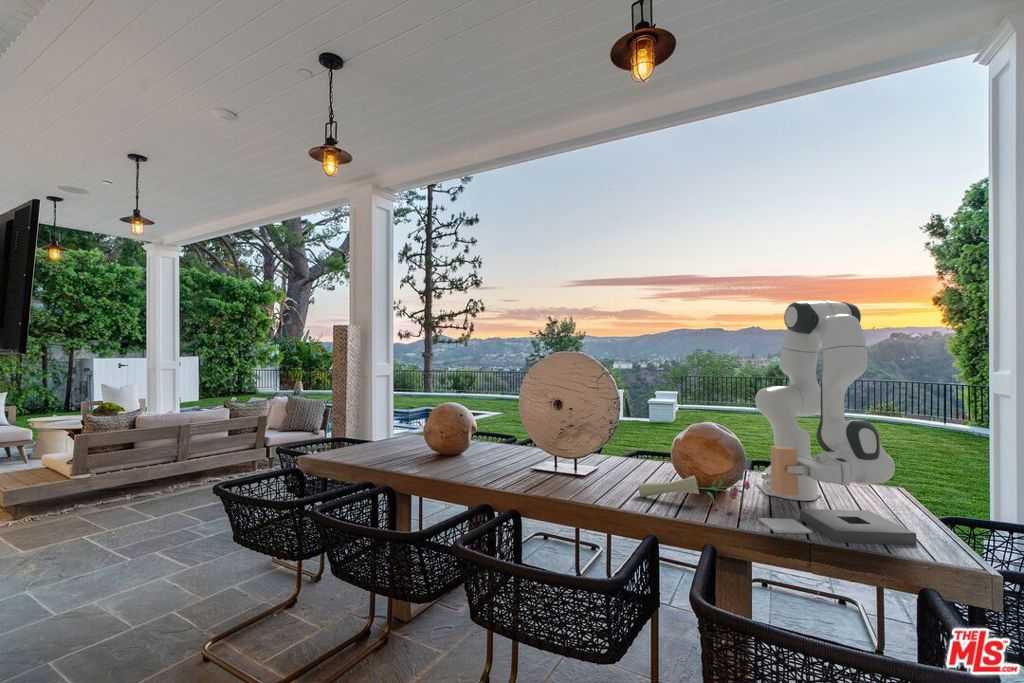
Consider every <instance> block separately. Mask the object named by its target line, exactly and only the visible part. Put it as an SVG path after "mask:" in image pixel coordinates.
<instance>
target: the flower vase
mask: <svg viewBox="0 0 1024 683" xmlns="http://www.w3.org/2000/svg"><path fill="white" fill-rule="evenodd" d="M718 476H719V477H718V478H719V482H718V484H717V483H716V482H717V481H716V479H714V480H713V481H712V483H711V485H712V486H711V487H699V483H698V481H697V478H696V476H695V475H691V476H687V477H686V478H683V479H682V478H681V479H680V480H675V481H674V480H673V481H667V482H639V483H638V486H637V488H638V494H639V496H640V498H647V497H651V496H657V495H658V496H659V495H663V494H671V493H689V494H697V495H700V492H699V489H700V490H709V491H710V490H711V491H722V492H726V493H729V494H728V497H729V498H730V499H731V502H733V501H735V500H737V497H738V496H739V497H740V498H739V503H742V502H743V498H742V495H741V496H740V495H739V493H740V494H744V493H745V492H744V491H743V490H741V489H738V487H743V489H744V490H746V491H747V492H748V491H749V489H750V488H751V485H750V482H749V481H748V480H746V481H744V482H743V484H742V485H732V486H722V485H723V481H725V480H726V478H727V474H726V473H724V475H723V476H724V477H723V480H722V479H721V475H720V474H718ZM743 479H744V472H743V473H741V474H740V475H739V476H738V478H737V481H736V484H738V483H739V481H743ZM715 485H717V486H716V487H715ZM723 488H724V489H723ZM725 488H726V489H727V488H730V490H725ZM709 491H707V492H706V491H705V493H707V495H708V496H710V497H711V499H712V504H714V503H715V504H716V508H717V511H719V505H718V503H717V502H715V498H714V496H713V494H712V493H711V492H709Z"/></svg>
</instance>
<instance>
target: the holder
mask: <svg viewBox="0 0 1024 683" xmlns="http://www.w3.org/2000/svg"><path fill="white" fill-rule="evenodd" d="M799 520H801V521H802V522H804V523H806V524H807V525H809V526H811V527H812V528H814V529H815V530H817V531H818V532H820V533H821V534H823V535H824V536H826V537H828V538H830V539H831V540H833V541H834V542H836V543H843V544H844V543H846V544H847V543H849V544H850V543H851V544H881V545H885V544H886V545H911V544H914V545H917V532H915V531H913V530H911V529H909V528H906V527H905V526H902V525H900V524H898V523H896V522H893V521H891V520H889V519H887V518H885V517H883V516H881V515H879V514H876V513H875V512H872V511H870V510H859V509H858V510H856V509H855V510H854V509H817V508H816V509H812V508H800V509H799Z"/></svg>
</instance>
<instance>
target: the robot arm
mask: <svg viewBox="0 0 1024 683" xmlns="http://www.w3.org/2000/svg"><path fill="white" fill-rule="evenodd" d="M861 314H862V313H861V311H860V308H858V306H856V305H855V304H852V303H851V302H850V303H849V302H845V301H840V302H839V301H831V300H815V301H814V300H813V301H812V300H811V301H804V300H801V301H795V302H792V303H791V304H788V307H786V309H785V311H784V316H783V321H784V325H785V326H786V330H785V333H784V337H783V340H782V346H781V352H780V357H779V366H778V367H779V370H780V371H781V372H783V373H784V375H786V376H787V377H788V382H789V384H788V385H773V386H767V387H764V388H760V389H759V390H758V391H757V393H756V395H755V397H754V398H755V399H754V404H755V407H756V409H757V410H758V412H759V413H760V414H762V415H763V416H764V418H766V419H767V421H768V423H769V424H770V426H771V430H772V431H773V432H772V434H773V439H774V440H773V441H774V444H773V446H789V447H792V448H795V449H797V466H791V465H789V466H788V465H787V466H785V468H786V469H785V470H786V471H787V472H789V473H797V474H798V495H779V494H778V493H776V492H774V491H772V485H771V464H770V465H769V466H767V467H766V468H765V469H763V472H762V473H761V476H760V477H761V479H762V480H761V481H756V484H757V485H756V486H757V487H758V488H759V489H760V490H761V491H762V492H763V493H764V495H766V496H773V497H778V498H781V499H786V500H792V501H801V502H802V501H808V502H809V501H815V500H818V498H820V497H822V493H821V492H819V490H818V489H819V488H818V483H817V482H820V483H826V484H837V485H840V486H845V487H847V486H851V483H856V484H861V485H862V484H867V485H868V484H869V485H870V484H871V485H872V484H880V483H885V482H888V481H890V480H891V479H892V478H893V476H894V474H895V472H896V465H895V462H894V459H893V458H892V456H891V455H890V454H888V453H887V452H886V450H885V449H884V447H883V446H882V443H881V440H880V433H879V431H878V430H877V428H876V427H875V426H874V425H873V424H872V423H871V422H869V421H867V420H864V419H849V420H846V418H845V395H846V392H847V390H848V388H849V387H850V386H851V384H853V383H854V382H855V381H856V380H857V379H858V378H860V377H861V376H863V374H864V373H865V372H866V371H867V368H868V363H869V361H868V360H869V356H868V349H867V343H866V339H865V334H864V331H863V328H862V325H861V321H862V320H861V319H862V315H861ZM820 344H821V349H822V365H823V366H822V375H821V380H820V381H821V382H820V384H819V382H818V378H817V365H818V358H819V353H820ZM817 415H820V420H819V424H818V427H817V430H816V440H817V442H818V445H819V446H820V447H821V449H822V450H823V451H820V452H819V453H817V455H815V456H814V457H812V456H811V455H812V454H811V436H810V434H809V433H808V432H807V430H805V429H804V428H802V427H801V426H800V424H799V423H798V419H797V417H814V416H817Z"/></svg>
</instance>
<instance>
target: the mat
mask: <svg viewBox="0 0 1024 683" xmlns="http://www.w3.org/2000/svg"><path fill="white" fill-rule="evenodd" d="M758 521H759V522H760V523H762V524H763V525H764V526H766V527H767V528H768V529H770V530H771V531H773V532H774V533H777V534H778V533H780V534H783V533H784V534H813V531H812V529H810V528H808V527H806V526H805V525H804V524H802V523H800V522H799V521H797V520H796V519H793V518H773V517H772V518H771V517H770V518H767V517H765V518H764V517H758Z"/></svg>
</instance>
